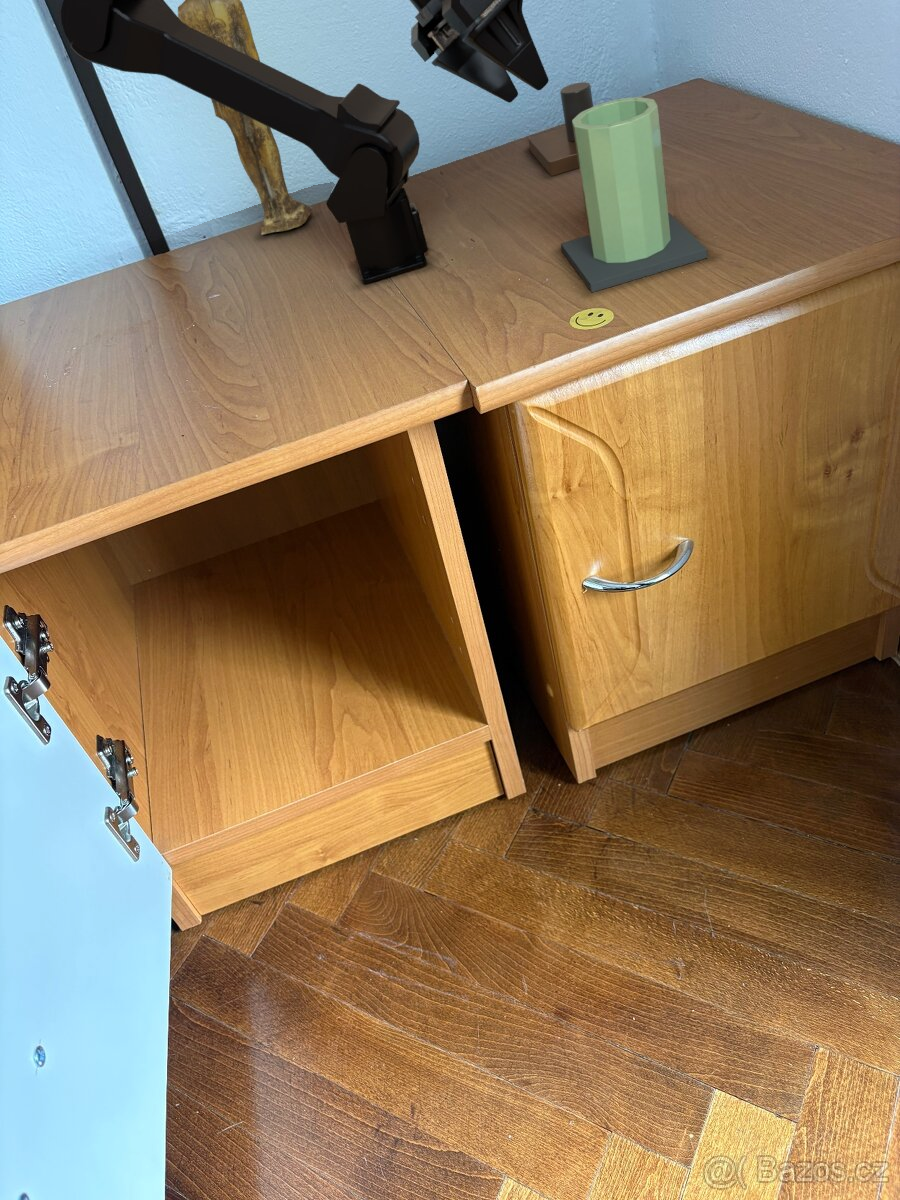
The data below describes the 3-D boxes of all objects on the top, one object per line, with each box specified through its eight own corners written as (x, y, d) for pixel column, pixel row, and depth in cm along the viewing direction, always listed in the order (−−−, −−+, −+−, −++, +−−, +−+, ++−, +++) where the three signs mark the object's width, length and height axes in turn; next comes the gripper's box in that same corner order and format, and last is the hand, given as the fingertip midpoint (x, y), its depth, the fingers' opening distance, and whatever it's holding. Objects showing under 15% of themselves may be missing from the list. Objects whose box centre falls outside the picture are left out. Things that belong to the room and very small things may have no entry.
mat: (591, 292, 84) (590, 283, 83) (561, 251, 92) (560, 243, 91) (707, 257, 84) (707, 248, 83) (668, 219, 91) (667, 211, 91)
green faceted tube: (577, 252, 89) (556, 122, 82) (636, 223, 90) (621, 93, 84) (624, 269, 84) (606, 132, 77) (685, 238, 86) (673, 102, 79)
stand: (551, 176, 107) (540, 112, 103) (530, 151, 115) (519, 91, 111) (642, 148, 107) (635, 83, 103) (614, 125, 115) (607, 64, 111)
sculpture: (320, 211, 116) (222, -94, 97) (309, 233, 112) (204, -84, 93) (265, 223, 118) (159, -76, 99) (252, 245, 113) (138, -65, 94)
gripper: (505, -196, 70) (639, -1, 76) (450, -114, 87) (563, 39, 93) (391, -73, 71) (532, 108, 77) (359, -17, 88) (477, 128, 94)
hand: (528, 92), depth 85 cm, fingers open, 9 cm apart
